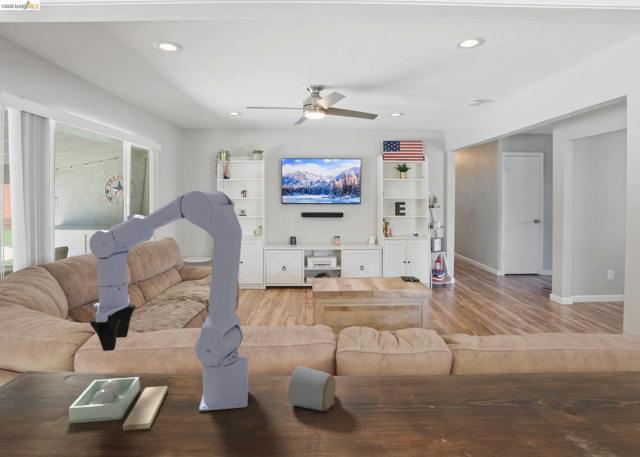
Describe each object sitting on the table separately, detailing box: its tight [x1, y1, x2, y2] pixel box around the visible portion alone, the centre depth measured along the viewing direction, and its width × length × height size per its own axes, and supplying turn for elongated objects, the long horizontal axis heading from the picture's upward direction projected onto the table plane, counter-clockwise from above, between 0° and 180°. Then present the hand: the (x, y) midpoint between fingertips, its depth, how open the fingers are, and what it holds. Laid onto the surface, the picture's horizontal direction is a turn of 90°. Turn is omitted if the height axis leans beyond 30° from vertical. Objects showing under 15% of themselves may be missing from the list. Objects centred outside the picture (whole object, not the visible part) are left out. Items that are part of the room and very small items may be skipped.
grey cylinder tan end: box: [287, 365, 336, 412], centre depth 79 cm, size 11×8×8 cm
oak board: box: [122, 385, 169, 431], centre depth 77 cm, size 5×14×1 cm, turn 9°
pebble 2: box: [92, 389, 113, 405], centre depth 76 cm, size 4×4×4 cm
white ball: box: [100, 380, 120, 397], centre depth 80 cm, size 4×4×4 cm
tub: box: [68, 376, 141, 424], centre depth 78 cm, size 9×11×3 cm
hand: (115, 343), depth 85 cm, fingers open, 7 cm apart
